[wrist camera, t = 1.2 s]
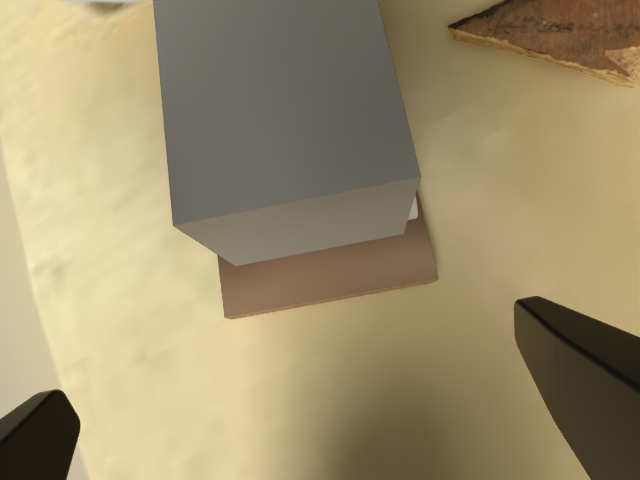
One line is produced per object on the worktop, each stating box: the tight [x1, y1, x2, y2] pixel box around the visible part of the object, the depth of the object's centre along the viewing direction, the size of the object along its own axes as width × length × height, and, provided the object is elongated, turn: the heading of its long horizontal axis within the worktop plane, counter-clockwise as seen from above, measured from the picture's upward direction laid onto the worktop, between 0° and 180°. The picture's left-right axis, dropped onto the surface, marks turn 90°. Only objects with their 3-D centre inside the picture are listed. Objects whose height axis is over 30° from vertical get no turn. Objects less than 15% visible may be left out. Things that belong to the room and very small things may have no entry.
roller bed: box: [218, 191, 438, 319], centre depth 22 cm, size 21×11×8 cm, turn 10°
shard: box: [448, 0, 640, 88], centre depth 26 cm, size 11×8×2 cm
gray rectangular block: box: [153, 0, 421, 266], centre depth 19 cm, size 10×8×7 cm
